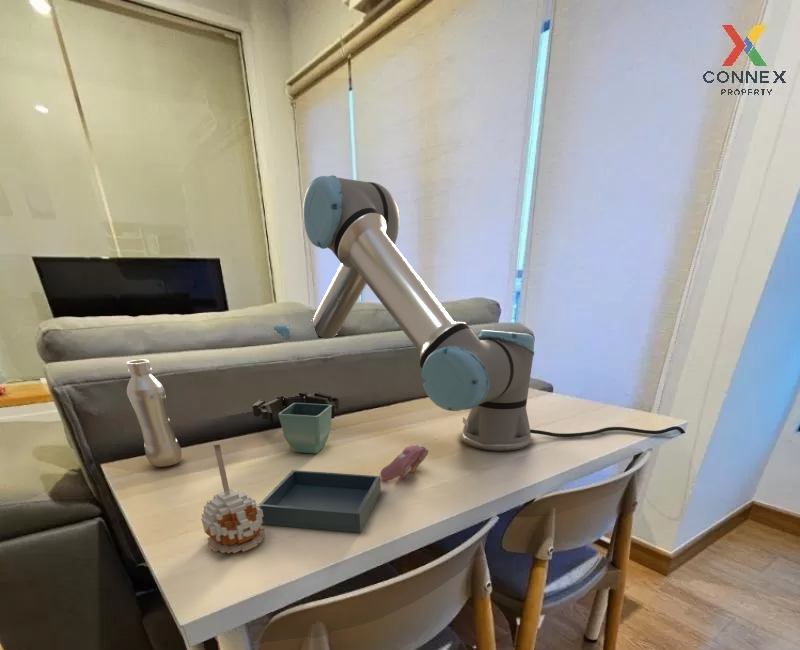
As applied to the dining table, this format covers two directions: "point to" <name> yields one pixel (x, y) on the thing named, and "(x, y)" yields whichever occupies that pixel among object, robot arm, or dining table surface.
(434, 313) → the robot arm
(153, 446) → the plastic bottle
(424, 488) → the dining table surface
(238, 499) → the decorative ornament
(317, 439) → the flower pot
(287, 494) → the tray
